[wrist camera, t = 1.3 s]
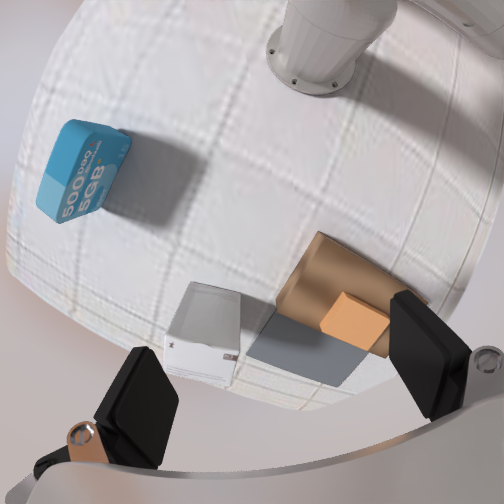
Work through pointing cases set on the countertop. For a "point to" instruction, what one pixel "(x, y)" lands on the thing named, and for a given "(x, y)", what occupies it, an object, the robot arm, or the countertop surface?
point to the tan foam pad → (354, 322)
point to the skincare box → (204, 335)
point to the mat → (305, 351)
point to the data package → (81, 169)
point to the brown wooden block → (337, 286)
